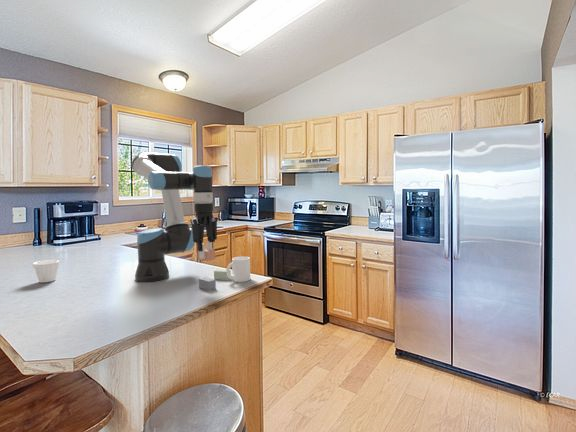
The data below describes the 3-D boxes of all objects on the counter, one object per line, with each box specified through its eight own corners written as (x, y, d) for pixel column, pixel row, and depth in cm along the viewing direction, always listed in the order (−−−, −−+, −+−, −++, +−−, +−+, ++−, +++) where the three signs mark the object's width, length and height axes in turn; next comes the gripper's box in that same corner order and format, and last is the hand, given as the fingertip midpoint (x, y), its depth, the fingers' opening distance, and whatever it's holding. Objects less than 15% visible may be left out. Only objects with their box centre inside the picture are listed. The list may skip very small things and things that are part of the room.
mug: (231, 285, 140) (230, 262, 139) (222, 281, 147) (221, 259, 146) (253, 280, 148) (253, 258, 147) (244, 276, 154) (243, 255, 153)
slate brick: (199, 287, 138) (198, 278, 138) (205, 285, 141) (205, 276, 140) (208, 290, 134) (208, 281, 133) (215, 288, 136) (215, 279, 136)
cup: (65, 279, 152) (63, 260, 151) (41, 285, 143) (40, 265, 142) (52, 277, 156) (51, 258, 155) (29, 283, 147) (27, 263, 146)
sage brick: (214, 279, 151) (213, 271, 150) (217, 277, 154) (217, 269, 154) (227, 280, 149) (227, 271, 149) (230, 278, 152) (230, 270, 152)
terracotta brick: (197, 259, 136) (197, 250, 136) (204, 258, 139) (203, 249, 139) (208, 260, 132) (208, 251, 132) (215, 259, 135) (214, 250, 135)
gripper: (194, 203, 125) (196, 262, 127) (224, 202, 139) (226, 255, 141) (181, 203, 130) (184, 260, 131) (212, 202, 143) (214, 253, 145)
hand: (206, 257), depth 136 cm, fingers closed on terracotta brick, 3 cm apart
